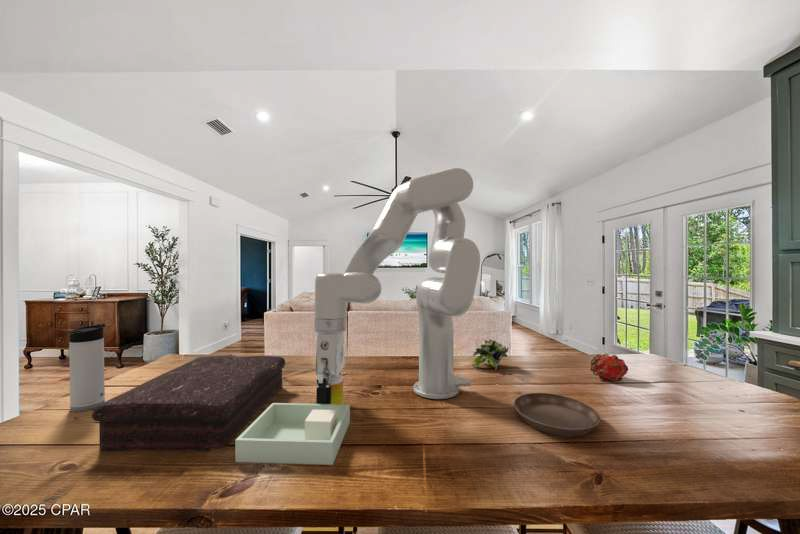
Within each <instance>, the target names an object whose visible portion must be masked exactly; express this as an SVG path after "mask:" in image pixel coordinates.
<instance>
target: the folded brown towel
mask: <svg viewBox="0 0 800 534" xmlns="http://www.w3.org/2000/svg"><path fill="white" fill-rule="evenodd" d="M285 366H286V360H285V357H282V356H275V355H274V356H270V355H249V356H248V355H247V356H245V355H244V356H242V355H241V356H236V355H235V356H234V355H210V356H209V355H207V356H199V357H196V358H194V359H193V360H190V361H188V362H186V363H184V364H182V365H180V366H178V367H176V368H173V369H171V370H169V371H166V372H163V373H162V374H160V375H157V376H155V377H153V378H151V379H149V380H148V381H145V382H143V383H141V384H140V385H138V386H135V387H133V388H131V389H129V390H127V391H125V392H123V393H121V394H119V395H116V396H114V397H112V398H110V399H108V400H105V402H104V403H102V404H100V405H99V406H98V407H96V408H95V409H92V410H93V411H92V413H91V418H92V420H93V421H95V422H98V424H99V425H98V426H99V431H98V432H99V434H98V435H99V441H98V442H99V452H103V453H105V452H126V451H163V450H164V451H196V452H209V451H211V450H212V449H216V450H217V449H223V448H225V447H227V446H229V444H230V443H231V442H232V440H233V439H234V438H235V437H236V436H237V435H238V434H239V433H240V432H241V430H242V429H243V428H244V427H245V426H246V425H247V424H248V423H249V421H250V420H251V419H252V418H253V416H254V415H256V413H257V412H258V411H259V409H261V408H262V407H263V406H264V405H265V404H266V403H267V402H268V401H269V400H270V399H271V398H274V397H276V395H278V393H279V392H281V390H282V389H283V369H284V367H285Z"/></svg>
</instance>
